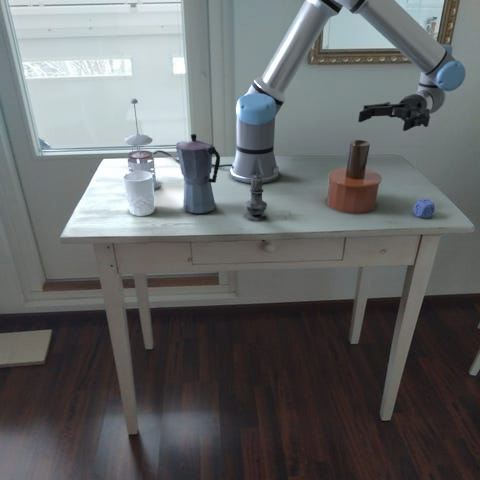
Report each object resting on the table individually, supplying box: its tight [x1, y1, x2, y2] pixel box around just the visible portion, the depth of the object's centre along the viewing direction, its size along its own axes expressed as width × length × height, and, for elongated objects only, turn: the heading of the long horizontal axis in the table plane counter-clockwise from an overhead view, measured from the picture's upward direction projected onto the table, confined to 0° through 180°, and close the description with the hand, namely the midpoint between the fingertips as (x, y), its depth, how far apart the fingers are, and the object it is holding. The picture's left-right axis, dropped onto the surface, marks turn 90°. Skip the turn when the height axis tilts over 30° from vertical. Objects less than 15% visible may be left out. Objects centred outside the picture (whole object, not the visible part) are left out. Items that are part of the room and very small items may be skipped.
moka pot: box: [175, 133, 221, 214], centre depth 129 cm, size 10×15×20 cm, turn 54°
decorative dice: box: [413, 198, 436, 219], centre depth 131 cm, size 4×4×4 cm
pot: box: [326, 178, 380, 214], centre depth 136 cm, size 14×14×8 cm
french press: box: [124, 98, 161, 191], centre depth 142 cm, size 10×12×25 cm
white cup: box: [122, 171, 156, 217], centre depth 131 cm, size 8×8×10 cm
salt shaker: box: [245, 174, 268, 222], centre depth 128 cm, size 6×6×12 cm
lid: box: [327, 139, 383, 188], centre depth 131 cm, size 15×15×10 cm
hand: (381, 121), depth 133 cm, fingers open, 13 cm apart
